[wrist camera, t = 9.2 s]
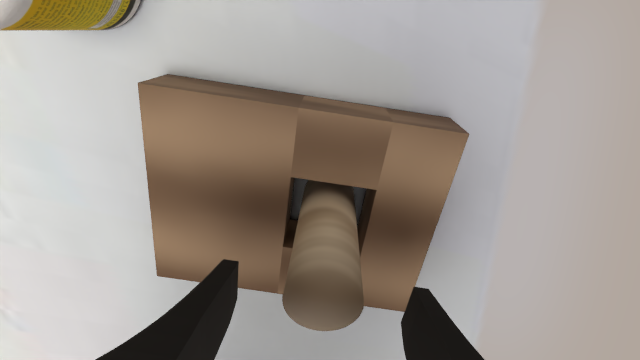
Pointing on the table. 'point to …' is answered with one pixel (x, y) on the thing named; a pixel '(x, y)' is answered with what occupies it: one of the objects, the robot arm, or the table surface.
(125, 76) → the table surface
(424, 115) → the walnut socket board
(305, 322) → the beech peg
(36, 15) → the supplement bottle
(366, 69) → the table surface
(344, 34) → the table surface
